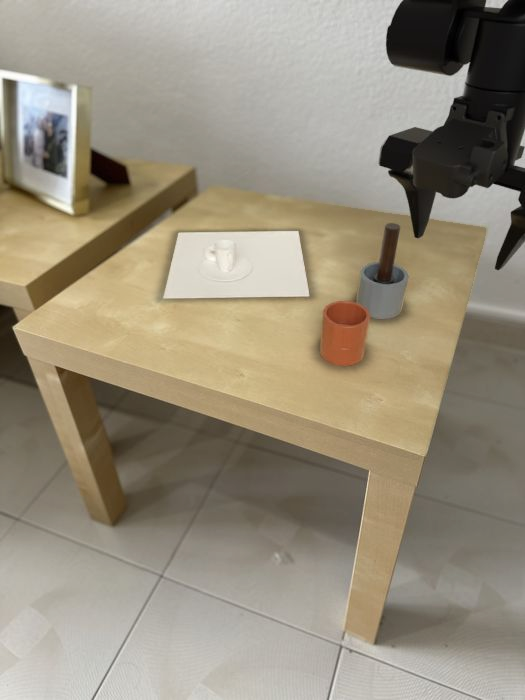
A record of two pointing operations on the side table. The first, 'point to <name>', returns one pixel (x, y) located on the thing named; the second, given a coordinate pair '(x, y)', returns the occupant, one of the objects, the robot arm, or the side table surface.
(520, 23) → the robot arm
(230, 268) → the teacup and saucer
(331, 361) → the holder
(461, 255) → the side table surface
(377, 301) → the cup
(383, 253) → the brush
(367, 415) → the side table surface
